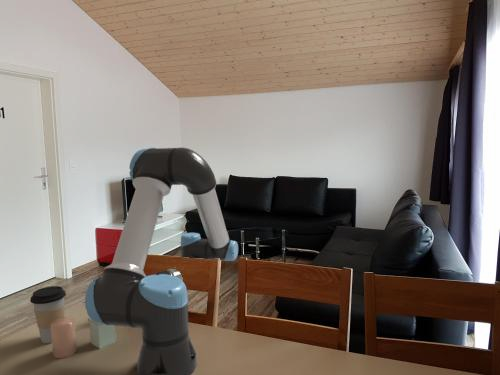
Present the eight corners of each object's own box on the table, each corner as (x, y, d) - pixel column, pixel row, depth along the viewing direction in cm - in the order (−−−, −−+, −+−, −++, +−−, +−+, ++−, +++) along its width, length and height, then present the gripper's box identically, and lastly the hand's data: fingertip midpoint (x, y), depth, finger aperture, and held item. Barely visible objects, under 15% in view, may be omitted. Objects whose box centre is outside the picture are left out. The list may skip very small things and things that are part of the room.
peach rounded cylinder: (79, 352, 105) (77, 322, 104) (56, 361, 101) (53, 329, 100) (73, 344, 110) (70, 315, 109) (50, 352, 106) (48, 321, 105)
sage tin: (116, 341, 111) (115, 316, 110) (99, 349, 107) (97, 323, 106) (107, 335, 114) (105, 311, 113) (90, 343, 110) (88, 318, 109)
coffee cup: (76, 332, 117) (72, 286, 115) (53, 348, 108) (48, 298, 106) (51, 329, 119) (47, 284, 117) (26, 344, 110) (21, 295, 108)
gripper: (178, 294, 134) (112, 314, 118) (161, 285, 144) (98, 302, 128) (177, 274, 133) (111, 291, 118) (160, 266, 143) (97, 281, 127)
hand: (104, 297), depth 123 cm, fingers closed
